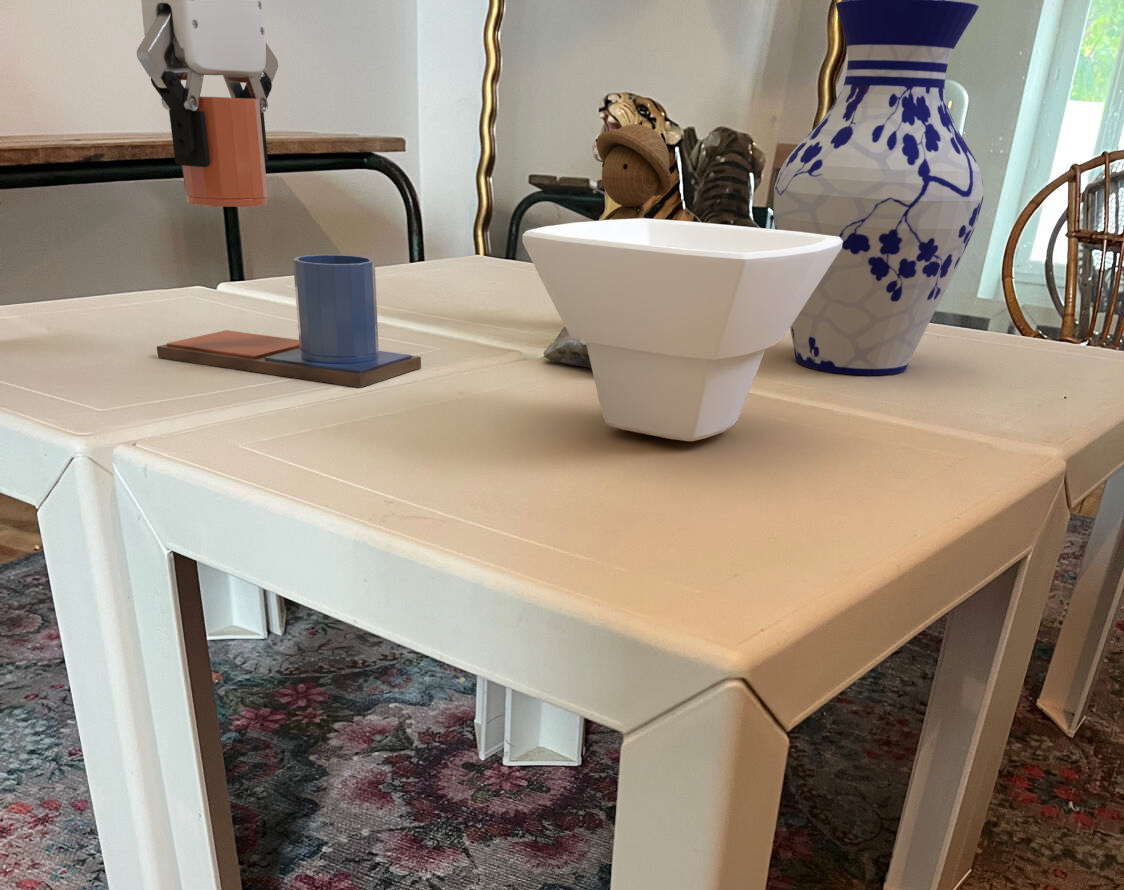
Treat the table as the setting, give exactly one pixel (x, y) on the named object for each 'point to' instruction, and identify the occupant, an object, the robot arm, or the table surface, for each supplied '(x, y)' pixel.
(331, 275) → the blue cup
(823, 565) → the table surface
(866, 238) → the vase
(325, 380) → the board
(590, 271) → the bowl
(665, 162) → the figurine
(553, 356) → the rock
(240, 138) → the terracotta cup
